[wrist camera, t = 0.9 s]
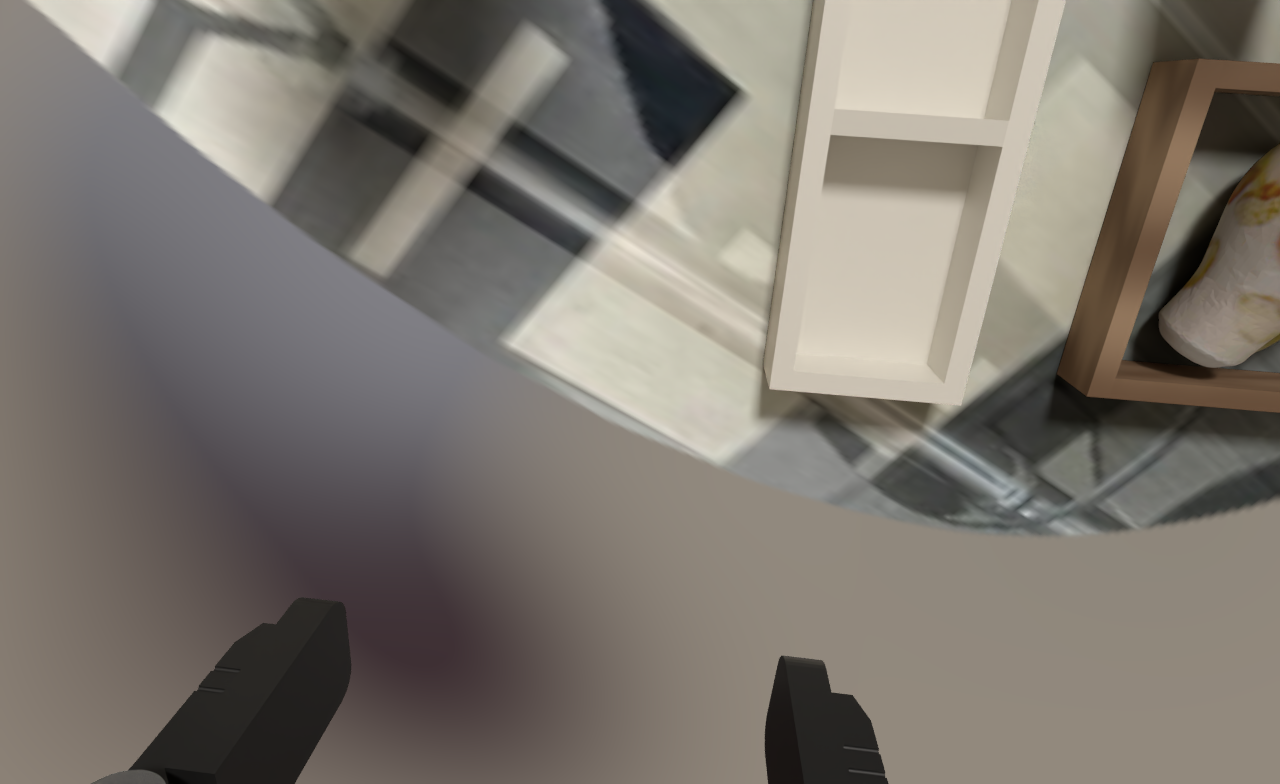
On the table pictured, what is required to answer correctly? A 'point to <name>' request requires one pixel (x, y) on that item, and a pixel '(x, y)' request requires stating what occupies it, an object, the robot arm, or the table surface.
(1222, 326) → the mug
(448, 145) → the table surface
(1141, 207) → the frame
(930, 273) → the caddy
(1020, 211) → the table surface
